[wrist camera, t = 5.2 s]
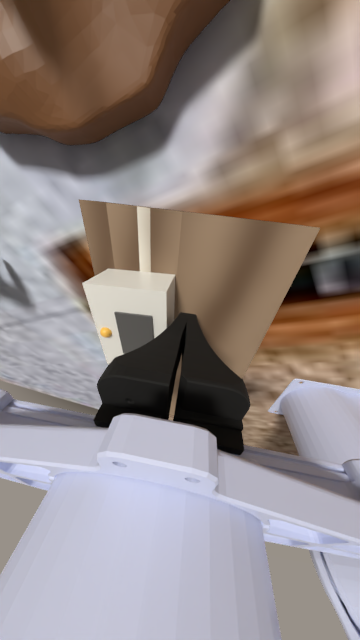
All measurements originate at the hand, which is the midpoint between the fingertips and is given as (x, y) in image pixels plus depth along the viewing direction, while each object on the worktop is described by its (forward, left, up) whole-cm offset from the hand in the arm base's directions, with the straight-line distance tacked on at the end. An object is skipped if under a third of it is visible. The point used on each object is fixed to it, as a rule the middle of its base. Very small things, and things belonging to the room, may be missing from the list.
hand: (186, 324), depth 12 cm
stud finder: (+4, 0, -1) cm, 4 cm away
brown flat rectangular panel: (+1, +5, -4) cm, 6 cm away
